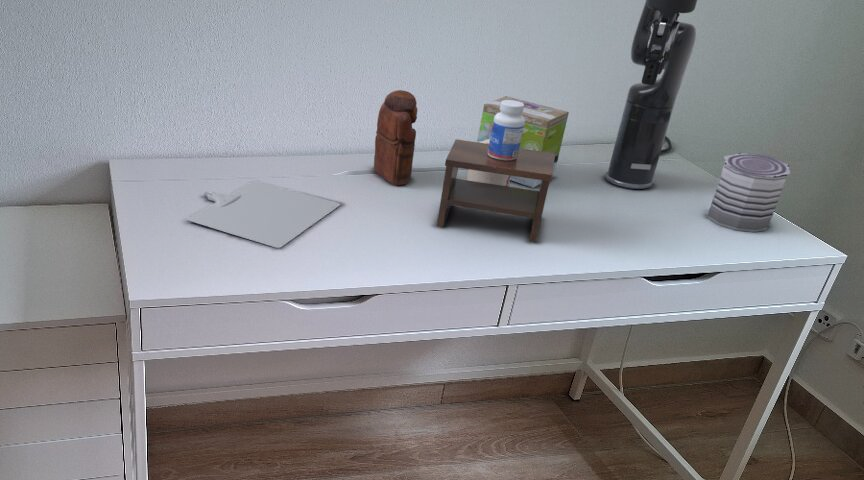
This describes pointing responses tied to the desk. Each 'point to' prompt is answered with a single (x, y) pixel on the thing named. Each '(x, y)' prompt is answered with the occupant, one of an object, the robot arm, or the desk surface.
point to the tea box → (530, 130)
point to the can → (748, 191)
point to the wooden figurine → (396, 137)
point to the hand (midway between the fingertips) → (651, 78)
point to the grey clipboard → (263, 213)
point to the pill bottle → (507, 131)
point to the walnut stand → (491, 194)
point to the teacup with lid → (488, 175)
